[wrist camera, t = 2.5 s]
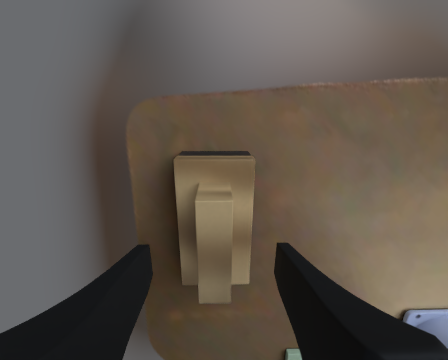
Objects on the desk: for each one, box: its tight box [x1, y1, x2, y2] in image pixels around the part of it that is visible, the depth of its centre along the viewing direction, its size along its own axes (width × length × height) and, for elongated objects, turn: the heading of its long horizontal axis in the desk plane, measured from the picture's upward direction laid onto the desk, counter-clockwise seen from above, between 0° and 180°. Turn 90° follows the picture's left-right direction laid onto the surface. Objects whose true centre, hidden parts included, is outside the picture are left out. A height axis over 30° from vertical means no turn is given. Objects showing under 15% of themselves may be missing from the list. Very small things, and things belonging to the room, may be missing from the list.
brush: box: [173, 151, 256, 304], centre depth 15 cm, size 10×5×6 cm, turn 0°
